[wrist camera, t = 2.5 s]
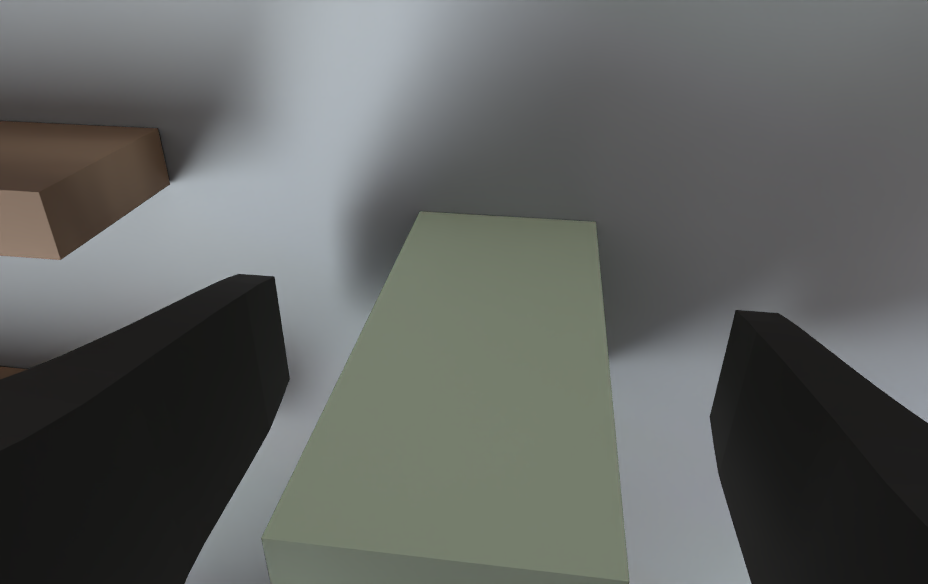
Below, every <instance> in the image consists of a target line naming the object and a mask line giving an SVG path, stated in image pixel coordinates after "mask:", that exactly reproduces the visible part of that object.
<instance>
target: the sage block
mask: <svg viewBox="0 0 928 584" xmlns="http://www.w3.org/2000/svg"><path fill="white" fill-rule="evenodd" d="M261 539H262V544H263V549H264V554H265V559H266V563H267V568H268V573H269V578H270V583H271V584H629V573H628V562H627V551H626V541H625V530H624V519H623V508H622V498H621V487H620V476H619V465H618V455H617V444H616V433H615V422H614V412H613V401H612V390H611V379H610V369H609V358H608V347H607V336H606V326H605V315H604V304H603V293H602V283H601V272H600V261H599V250H598V240H597V229H596V222H590V221H573V220H556V219H539V218H523V217H506V216H489V215H473V214H456V213H439V212H422V211H420V212H419V214H418V216H417V218H416V220H415V222H414V224H413V227H412V229H411V231H410V233H409V235H408V237H407V239H406V241H405V243H404V245H403V247H402V249H401V251H400V253H399V255H398V257H397V259H396V262H395V264H394V266H393V268H392V270H391V272H390V274H389V276H388V278H387V280H386V282H385V284H384V286H383V288H382V290H381V292H380V295H379V297H378V299H377V301H376V303H375V305H374V307H373V309H372V311H371V313H370V315H369V317H368V319H367V321H366V323H365V325H364V328H363V330H362V332H361V334H360V336H359V338H358V340H357V342H356V344H355V346H354V348H353V350H352V352H351V354H350V356H349V358H348V360H347V363H346V365H345V367H344V369H343V371H342V373H341V375H340V377H339V379H338V381H337V383H336V385H335V387H334V389H333V391H332V393H331V396H330V398H329V400H328V402H327V404H326V406H325V408H324V410H323V412H322V414H321V416H320V418H319V420H318V422H317V424H316V426H315V429H314V431H313V433H312V435H311V437H310V439H309V441H308V443H307V445H306V447H305V449H304V451H303V453H302V455H301V457H300V459H299V461H298V464H297V466H296V468H295V470H294V472H293V474H292V476H291V478H290V480H289V482H288V484H287V486H286V488H285V490H284V492H283V494H282V497H281V499H280V501H279V503H278V505H277V507H276V509H275V511H274V513H273V515H272V517H271V519H270V521H269V523H268V525H267V527H266V530H265V532H264V534H263V536H262V538H261Z"/></svg>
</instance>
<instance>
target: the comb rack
mask: <svg viewBox="0 0 928 584" xmlns="http://www.w3.org/2000/svg"><path fill="white" fill-rule="evenodd" d="M168 185H170V181H169V177H168V172H167V168H166V163H165V159H164V154H163V150H162V145H161V140H160V136H159V131H158V128H137V127H117V126H96V125H75V124H54V123H34V122H13V121H0V256H14V257H27V258H41V259H55V260H61V259H63V258H64V257H66V256H67V255H68V254H70V253H71V252H73V251H74V250H76V249H77V248H79V247H80V246H81V245H83V244H84V243H86V242H87V241H89V240H90V239H92V238H93V237H94V236H96V235H97V234H99V233H100V232H102V231H103V230H105V229H106V228H107V227H109V226H110V225H112V224H113V223H115V222H116V221H118V220H119V219H120V218H122V217H123V216H125V215H126V214H128V213H129V212H131V211H132V210H133V209H135V208H136V207H138V206H139V205H141V204H142V203H144V202H145V201H146V200H148V199H149V198H151V197H152V196H154V195H155V194H157V193H158V192H159V191H161V190H162V189H164V188H165V187H167V186H168ZM25 370H27V369H21V368H10V367H0V379H3V378H5V377H8V376H11V375H14V374H16V373H19V372H22V371H25Z"/></svg>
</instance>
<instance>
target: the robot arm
mask: <svg viewBox="0 0 928 584" xmlns="http://www.w3.org/2000/svg"><path fill="white" fill-rule="evenodd" d="M289 379H290V378H289V371H288V365H287V358H286V351H285V345H284V338H283V331H282V324H281V318H280V311H279V304H278V298H277V291H276V284H275V278H274V277H273V276H259V275H245V274H237V275H234V276H232V277H229V278H226V279H224V280H221V281H219V282H217V283H214V284H212V285H210V286H208V287H206V288H204V289H201V290H199V291H197V292H195V293H193V294H191V295H189V296H187V297H185V298H183V299H181V300H179V301H177V302H175V303H173V304H171V305H169V306H167V307H165V308H163V309H161V310H159V311H157V312H155V313H153V314H151V315H149V316H146V317H144V318H142V319H140V320H138V321H136V322H134V323H132V324H130V325H128V326H126V327H124V328H122V329H119V330H117V331H115V332H113V333H111V334H108V335H106V336H104V337H102V338H100V339H97V340H95V341H93V342H91V343H88V344H86V345H84V346H82V347H80V348H77V349H75V350H73V351H71V352H69V353H66V354H64V355H62V356H59V357H57V358H55V359H52V360H50V361H47V362H45V363H42V364H40V365H37V366H35V367H32V368H30V369H27V370H25V371H22V372H19V373H16V374H14V375H11V376H8V377H5V378H3V379H0V584H184V583H185V581H186V579H187V576H188V574H189V572H190V570H191V568H192V566H193V564H194V562H195V561H196V559H197V557H198V555H199V553H200V551H201V549H202V547H203V545H204V543H205V542H206V540H207V538H208V537H209V535H210V533H211V531H212V530H213V528H214V526H215V525H216V523H217V521H218V519H219V518H220V516H221V514H222V512H223V511H224V509H225V507H226V506H227V504H228V502H229V500H230V499H231V497H232V495H233V494H234V492H235V490H236V488H237V487H238V485H239V483H240V481H241V480H242V478H243V476H244V475H245V473H246V471H247V469H248V468H249V466H250V464H251V462H252V461H253V459H254V457H255V455H256V454H257V452H258V450H259V448H260V446H261V445H262V443H263V441H264V439H265V437H266V436H267V434H268V432H269V430H270V428H271V425H272V423H273V421H274V418H275V416H276V413H277V411H278V409H279V406H280V403H281V401H282V398H283V395H284V393H285V390H286V387H287V385H288V382H289ZM710 422H711V429H712V436H713V443H714V450H715V456H716V462H717V468H718V473H719V477H720V481H721V484H722V488H723V491H724V495H725V498H726V501H727V505H728V508H729V511H730V515H731V518H732V521H733V525H734V528H735V531H736V534H737V538H738V541H739V544H740V547H741V551H742V554H743V557H744V560H745V564H746V567H747V570H748V573H749V577H750V580H751V583H752V584H928V423H927V422H925V421H924V420H923V419H921V418H920V417H918V416H917V415H915V414H914V413H912V412H911V411H909V410H908V409H907V408H905V407H904V406H902V405H901V404H900V403H898V402H897V401H895V400H894V399H893V398H891V397H890V396H888V395H887V394H886V393H884V392H883V391H882V390H880V389H879V388H878V387H876V386H875V385H874V384H872V383H871V382H870V381H868V380H867V379H866V378H864V377H863V376H862V375H860V374H859V373H858V372H856V371H855V370H854V369H853V368H851V367H850V366H849V365H847V364H846V363H845V362H843V361H842V360H841V359H840V358H838V357H837V356H836V355H834V354H833V353H832V352H831V351H829V350H828V349H827V348H825V347H824V346H823V345H822V344H820V343H819V342H818V341H816V340H815V339H814V338H813V337H811V336H810V335H809V334H807V333H806V332H805V331H803V330H802V329H801V328H799V327H798V326H797V325H795V324H794V323H793V322H791V321H790V320H788V319H787V318H785V317H784V316H782V315H780V314H779V313H768V312H755V311H741V310H736V311H735V315H734V320H733V324H732V328H731V332H730V336H729V340H728V344H727V348H726V352H725V357H724V361H723V365H722V369H721V373H720V377H719V381H718V385H717V389H716V394H715V398H714V402H713V406H712V410H711V414H710Z"/></svg>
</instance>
